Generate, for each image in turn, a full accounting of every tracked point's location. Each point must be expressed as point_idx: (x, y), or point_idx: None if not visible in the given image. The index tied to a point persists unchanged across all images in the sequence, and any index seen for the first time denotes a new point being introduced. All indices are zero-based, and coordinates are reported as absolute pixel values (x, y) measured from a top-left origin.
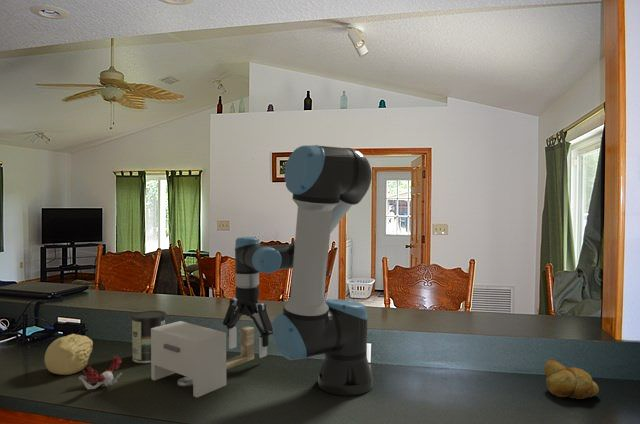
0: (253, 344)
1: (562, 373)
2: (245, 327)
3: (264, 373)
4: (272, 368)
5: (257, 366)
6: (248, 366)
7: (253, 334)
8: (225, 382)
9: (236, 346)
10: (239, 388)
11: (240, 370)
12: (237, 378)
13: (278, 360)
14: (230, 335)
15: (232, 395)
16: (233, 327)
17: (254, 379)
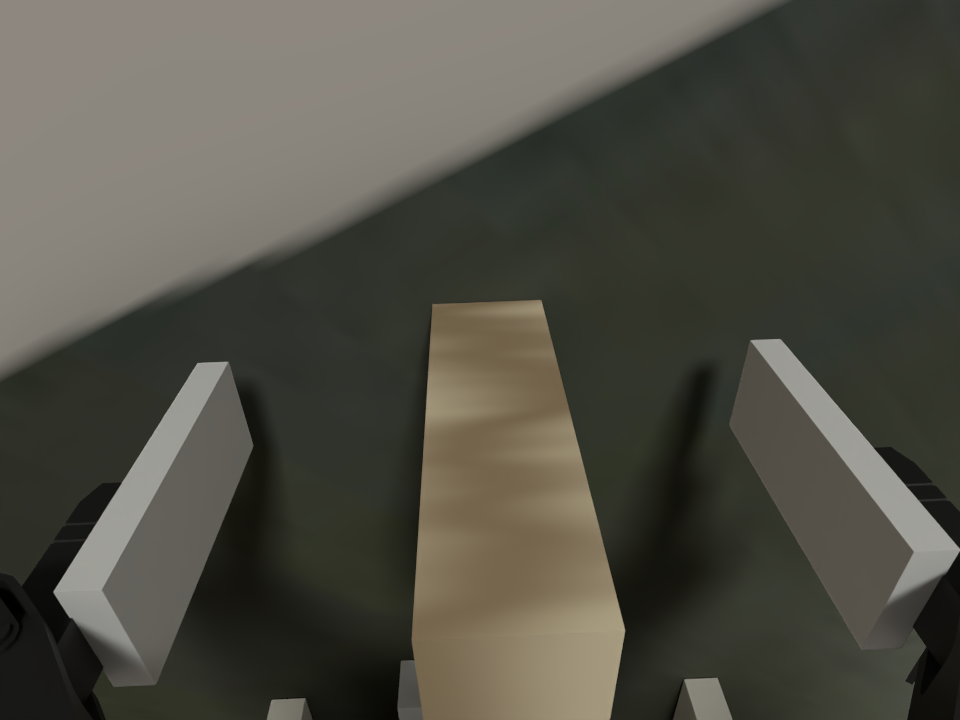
0: (565, 413)
1: None
2: (458, 695)
3: None
4: (876, 364)
5: (710, 410)
6: (635, 453)
7: (593, 529)
8: (722, 699)
9: (226, 365)
10: (818, 663)
11: (635, 530)
12: (714, 607)
13: (833, 159)
14: (195, 586)
15: (831, 711)
16: (75, 619)
17: None
